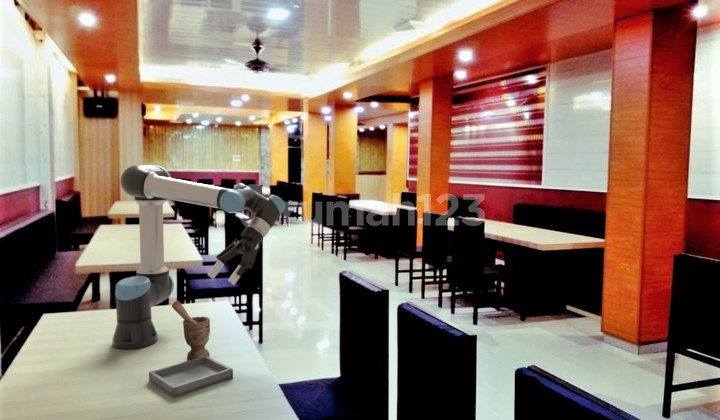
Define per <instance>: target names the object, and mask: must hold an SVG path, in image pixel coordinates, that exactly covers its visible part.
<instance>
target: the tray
mask: <svg viewBox="0 0 720 420" xmlns="http://www.w3.org/2000/svg"><path fill="white" fill-rule="evenodd" d="M233 379H234V369H233V368H232V367H230V366H228V365H226V364H224V363H222V362H220V361H218V360H216V359H214V358H212V357H210V356H209V357H208V356H203V357H199V358H196V359H192V360H186V361H182V362H178V363H175V364H173V365H170V366H166V367H162V368H158V369H155V370H152V371H148V381H149V383H150V384H152V385H154V386H155V387H157V388H158V389H159V390H161V391H163V392H164V393H165V394H167V395H168V396H169V397H171V398H173V399H175V398H179V397H182V396H185V395H187V394H190V393H194V392H198V391H199V390H202V389H205V388H208V387H211V386H215V385H218V384H220V383H221V384H222V383H224V382H226V381H230V380H233Z"/></svg>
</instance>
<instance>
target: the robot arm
mask: <svg viewBox="0 0 720 420" xmlns="http://www.w3.org/2000/svg"><path fill="white" fill-rule="evenodd" d="M120 186H121V188H122V190H123V192H125V193H126V194H127V195H129V196H132V197H134V198H133V199H134V202H135V203H137V204H138V217H139V219H138V221H139V252H140V253H139V254H140V255H139V257H140V259H139V260H140V265H139V266H140V267H139V268H138V269H136V275H135V276H130V277H126V278H123V279H121V280H119V281H118V282H117V283H116V284H115V292H114V295H115V307H116V326H115V329H114V333H113V336H112V347H114V348H116V349H118V350H119V349H122V350H134V349H140V348H145V347H149V346H151V345H153V344H155V343H156V342H157V341H158V332H157V330H156V328H155V325H154V323H153V320H152V318H153V317H152V307H154V306H156V305H158V304H161V303H163V302H165V301H166V300H167V299H168V298H170V296H171V295H172V294H173V292H174V287H175V286H174V285H175V282H174V279H173V277H172V276H171V275H170V274H169V268H168V267H167V266H166V265H165V243H164V242H165V239H164V235H165V233H164V205H165V203H166V202H167V201H168V200H172V201H176V202H182V203H186V204H188V203H189V204H193V205H198V206H203V207H204V206H205V207H208V208H209V207H210V208H215V209H220V210H224V211H225V212H227V213H234V214H235V213H238V212H241V211H244V210H248V212H250V213H252V214H253V215H254V216H253V217H252V218H251V220H250V221H249V223H248V224H247V226H245V228H244V229H243V231H242V232H241V234H240V235H241V239H240V240H238V239H237V238H235V239H234V240H233V241H232V242H231V243H230V244H229V245H228V246H227V247H225V248H224V249H222V251H221V252H220V253H219V254H217V255H216V256H215V258H216V259H217V261H216V262H215V264H214V265H213V266H212V267H211V269H210V270H209V271H208V273H207V276H208V277H209V278H211V280H214V279H215V278H216V276H218V274H219V272H221V270H222V268H223V267H224V266H225V265H226V264H225V263H226V262H228V261H230V260H231V259H232V258H234V257H235V256H237V255H240V254H241V256H242V257H241V262H240V264H238V265H237V267H236V269H235V270H234V271H233V272H232V273H231V275H230V277H228V279H227V281H228V282H229V283H230V284H231V285H232V286H235V285H236V283H237V282H238V281H239V279H240V278H241V277H242V275H243V274H244V272H245V271H246V270H248V269H252V268H253V267H254V263H255V260H256V258H257V254H258V252H259V250H260V248H261V246H260V245H261V243H262V242H263V240H264V238H265V237H266V236H267V235H268V234H269V231H271V228H272V227H274V225H275V224H276V223H277V221H278V220H279V218H280V217H281V216H282V214H283V212H284V211H285V210H286V203H285V202H284V200H283V199H282V198H281V197H279V196H277V195H274V194H270V195H269V196H268V197H266V196H265V195H262V194H261V193H260V192H258V191H256V190H254V189H253V188H251V187H250V186H249V185H245V184H244V183H242V182H241V183H240V182H239V183H238V184H236V185H235V186H234V187H233V188H227V187H220V186H215V185H210V184H204V183H199V182H198V183H197V182H194V181H189V180H183V179H179V178H178V179H176V178H172V177H171V174H170V172H169V171H168V170H167V169H166V168H165V167H163V166H160V165H157V164H140V165H139V164H136V165H131V166H129V167H127V168H126V169H125V170H124V171H123V172H122V174H121V176H120Z"/></svg>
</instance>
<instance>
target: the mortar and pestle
mask: <svg viewBox="0 0 720 420" xmlns="http://www.w3.org/2000/svg"><path fill="white" fill-rule="evenodd" d="M171 307H172V308H173V310H174V311H175V312H176V313H177V314H178V315H179V316H180V317H181V318H182V319H183V321H182V326H183V327H182V328H183V335H184V339H185V342H186V344H187V345H188V346H189V347H190V351H188V352H187V355H186V361H189V360H192V359H196V358H199V357H203V356H208V357H210V356H211V355H210V352H209V350H208V349H206V345H207V343H208V342H209V339H210V338H209V337H210V335H211V327H210V326H211V325H210V324H211V322H210V321H211V319H210V317H207V316H192V317H191V316H190V315H189V313H188V312H187V310H186V308H185V307H184V306H183V304H182V303H181V302H180V301H179V300H175V301H174V302H173V303H172V304H171Z"/></svg>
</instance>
